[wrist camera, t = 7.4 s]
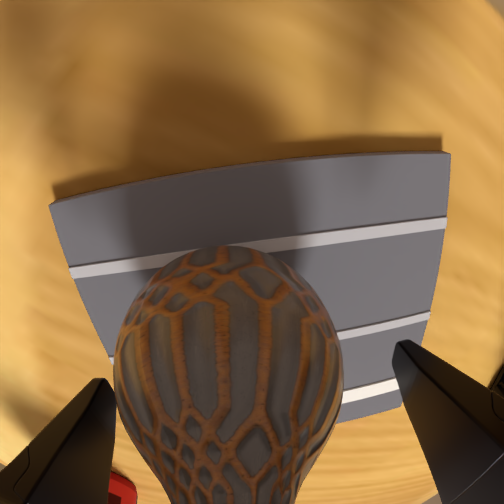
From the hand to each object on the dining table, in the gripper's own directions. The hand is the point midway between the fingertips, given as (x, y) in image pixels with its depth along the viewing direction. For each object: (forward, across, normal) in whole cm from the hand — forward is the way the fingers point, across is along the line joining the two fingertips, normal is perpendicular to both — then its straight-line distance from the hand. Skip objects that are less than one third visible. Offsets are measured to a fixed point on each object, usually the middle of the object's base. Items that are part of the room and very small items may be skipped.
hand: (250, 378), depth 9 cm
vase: (+4, +1, 0) cm, 5 cm away
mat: (+5, -1, +3) cm, 6 cm away
